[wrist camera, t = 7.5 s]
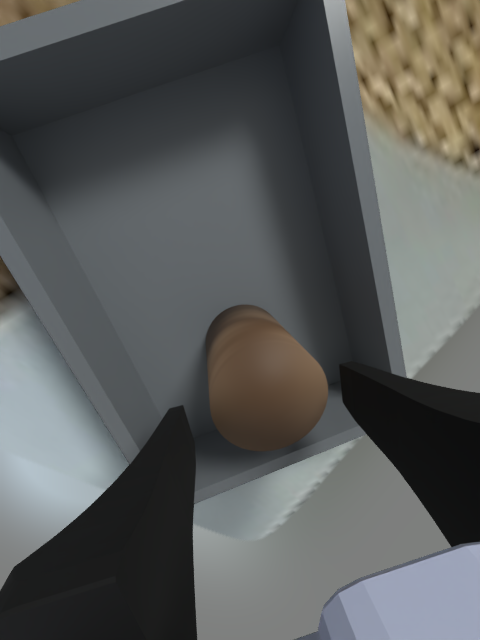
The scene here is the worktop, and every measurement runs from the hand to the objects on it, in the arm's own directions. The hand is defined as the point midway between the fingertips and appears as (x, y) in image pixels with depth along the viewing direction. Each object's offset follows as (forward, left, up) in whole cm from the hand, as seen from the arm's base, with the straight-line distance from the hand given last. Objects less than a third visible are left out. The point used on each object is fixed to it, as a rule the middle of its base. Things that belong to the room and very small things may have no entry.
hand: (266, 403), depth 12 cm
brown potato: (0, +1, -6) cm, 6 cm away
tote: (0, +5, -7) cm, 8 cm away
